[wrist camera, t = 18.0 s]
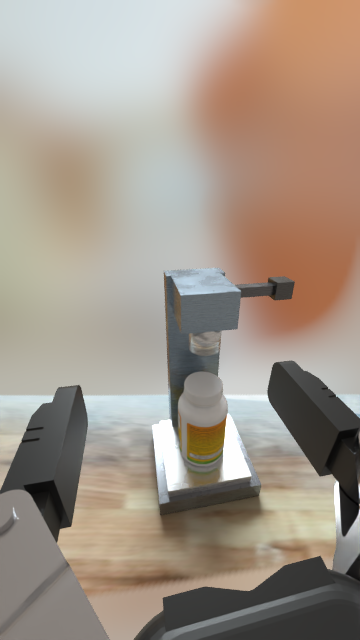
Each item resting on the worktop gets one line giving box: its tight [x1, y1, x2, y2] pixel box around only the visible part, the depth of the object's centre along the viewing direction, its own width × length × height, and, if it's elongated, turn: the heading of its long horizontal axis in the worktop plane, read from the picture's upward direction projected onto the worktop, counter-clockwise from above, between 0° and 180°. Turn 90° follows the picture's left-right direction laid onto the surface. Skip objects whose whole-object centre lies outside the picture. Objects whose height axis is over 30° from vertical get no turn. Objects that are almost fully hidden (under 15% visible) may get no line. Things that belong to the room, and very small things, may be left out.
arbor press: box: [153, 268, 295, 515], centre depth 27 cm, size 15×11×23 cm
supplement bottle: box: [178, 372, 228, 466], centre depth 28 cm, size 5×5×10 cm
